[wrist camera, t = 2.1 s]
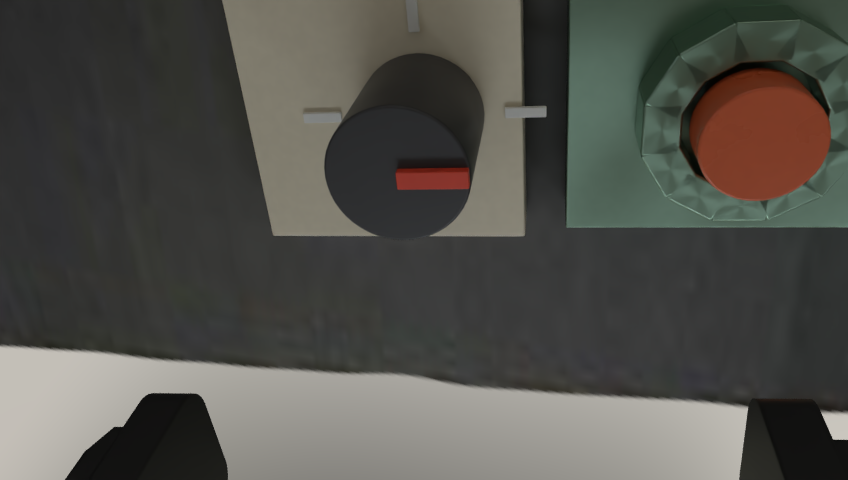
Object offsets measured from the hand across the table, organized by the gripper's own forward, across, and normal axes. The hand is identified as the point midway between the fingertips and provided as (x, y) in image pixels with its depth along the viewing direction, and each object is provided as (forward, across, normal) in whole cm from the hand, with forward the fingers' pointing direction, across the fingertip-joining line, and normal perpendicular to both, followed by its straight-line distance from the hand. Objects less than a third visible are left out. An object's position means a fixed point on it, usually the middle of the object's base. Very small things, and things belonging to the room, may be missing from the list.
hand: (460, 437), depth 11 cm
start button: (+15, -7, +2) cm, 17 cm away
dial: (+16, +3, +1) cm, 17 cm away
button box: (+18, -7, +2) cm, 20 cm away
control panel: (+18, +5, +1) cm, 19 cm away
